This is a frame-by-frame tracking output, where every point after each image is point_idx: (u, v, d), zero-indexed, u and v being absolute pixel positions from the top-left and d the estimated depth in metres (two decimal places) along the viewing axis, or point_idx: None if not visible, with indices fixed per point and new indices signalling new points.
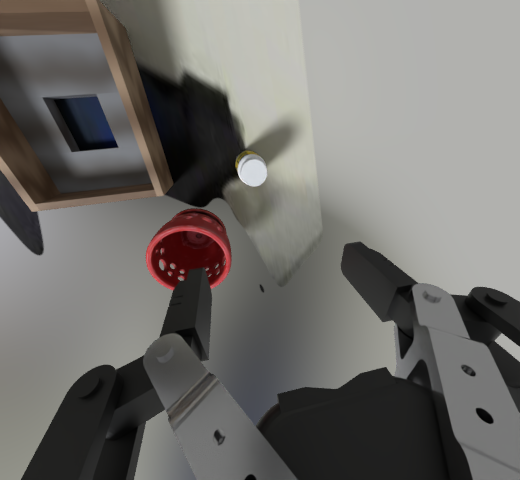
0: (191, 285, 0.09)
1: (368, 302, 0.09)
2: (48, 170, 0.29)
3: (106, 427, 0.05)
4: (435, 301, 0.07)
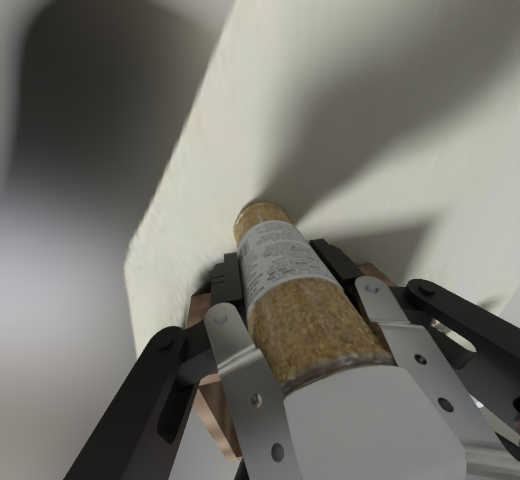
0: (230, 266, 0.09)
1: None
2: None
3: (172, 380, 0.06)
4: (372, 291, 0.07)
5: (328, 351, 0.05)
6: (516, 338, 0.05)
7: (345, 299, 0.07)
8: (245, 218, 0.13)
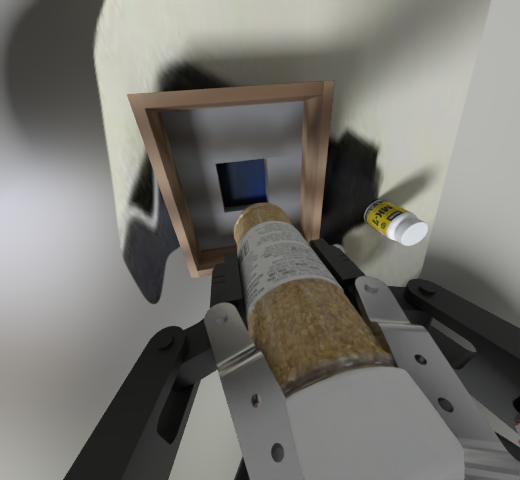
0: (230, 266, 0.09)
1: None
2: (197, 230, 0.28)
3: (172, 380, 0.06)
4: (372, 291, 0.07)
5: (328, 352, 0.05)
6: (516, 338, 0.05)
7: (345, 300, 0.07)
8: (245, 219, 0.13)
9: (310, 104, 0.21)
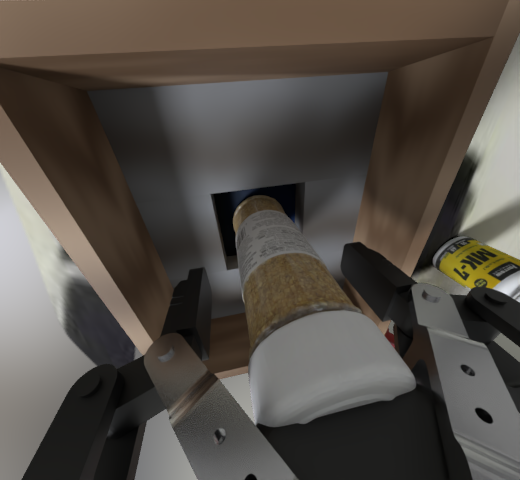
0: (192, 285, 0.09)
1: (367, 302, 0.09)
2: None
3: (107, 426, 0.05)
4: (434, 301, 0.07)
5: (304, 302, 0.06)
6: None
7: (325, 270, 0.08)
8: (243, 209, 0.14)
9: (416, 75, 0.09)
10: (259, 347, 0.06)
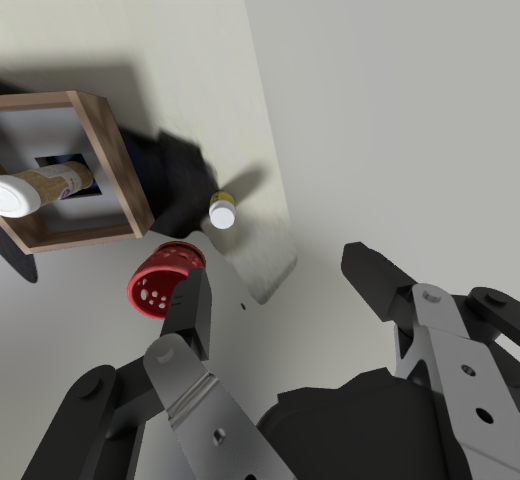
0: (191, 285, 0.09)
1: (368, 302, 0.09)
2: (40, 215, 0.33)
3: (106, 427, 0.05)
4: (435, 301, 0.07)
5: None
6: None
7: (36, 175, 0.24)
8: None
9: None
10: None
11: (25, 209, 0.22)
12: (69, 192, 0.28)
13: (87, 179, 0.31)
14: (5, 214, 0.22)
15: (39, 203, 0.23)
